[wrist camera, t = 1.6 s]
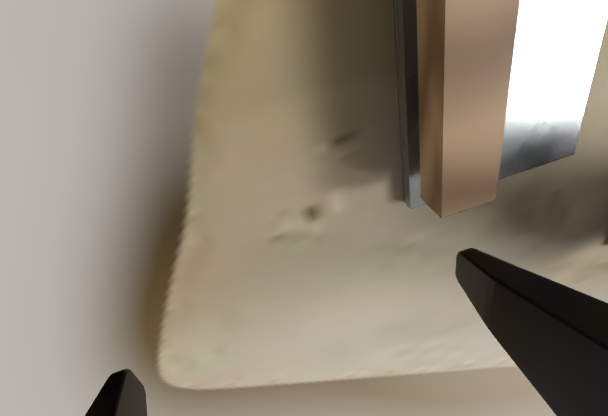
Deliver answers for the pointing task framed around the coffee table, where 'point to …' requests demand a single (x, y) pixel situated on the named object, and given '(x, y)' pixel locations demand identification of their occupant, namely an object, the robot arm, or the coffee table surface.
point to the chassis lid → (517, 84)
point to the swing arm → (463, 98)
